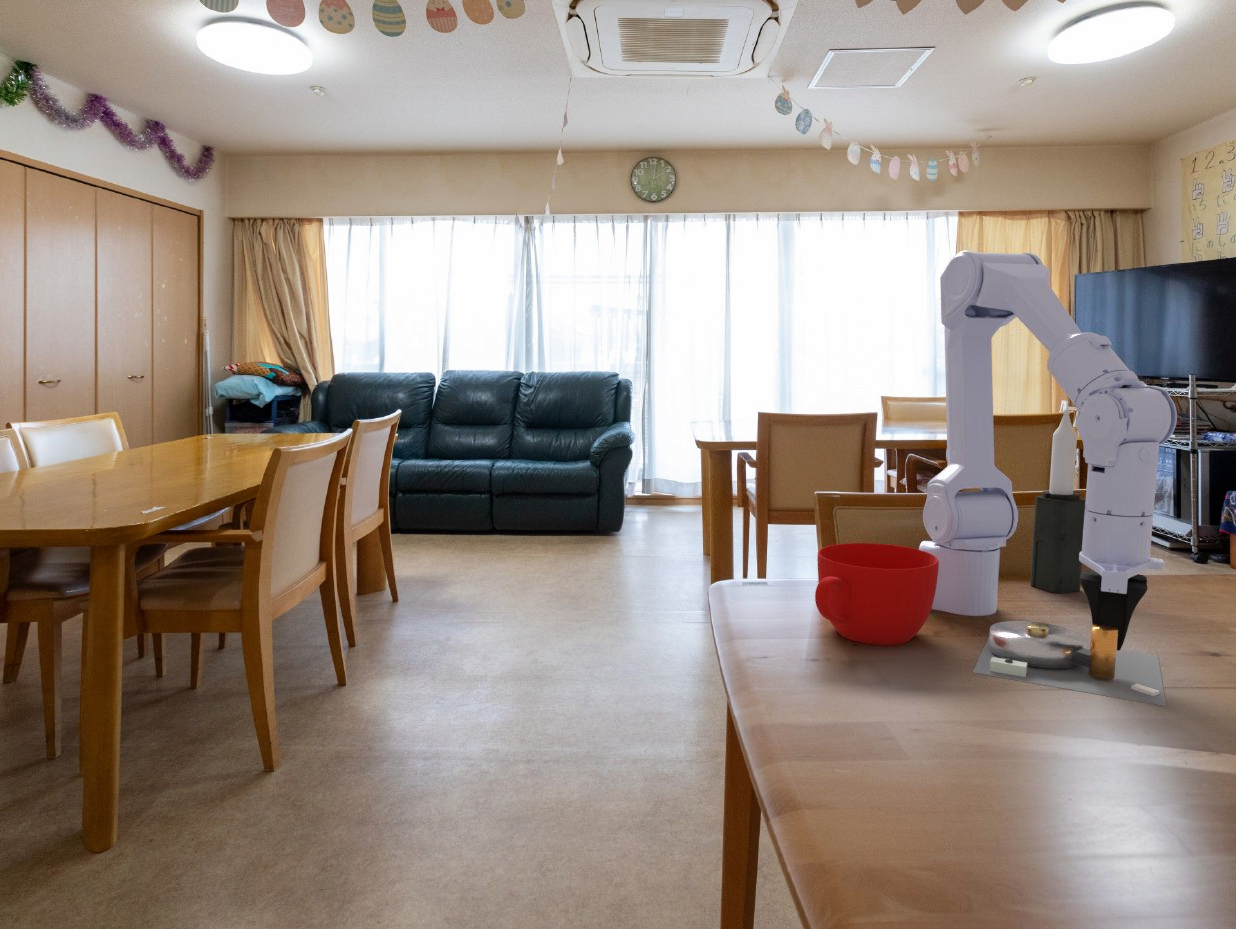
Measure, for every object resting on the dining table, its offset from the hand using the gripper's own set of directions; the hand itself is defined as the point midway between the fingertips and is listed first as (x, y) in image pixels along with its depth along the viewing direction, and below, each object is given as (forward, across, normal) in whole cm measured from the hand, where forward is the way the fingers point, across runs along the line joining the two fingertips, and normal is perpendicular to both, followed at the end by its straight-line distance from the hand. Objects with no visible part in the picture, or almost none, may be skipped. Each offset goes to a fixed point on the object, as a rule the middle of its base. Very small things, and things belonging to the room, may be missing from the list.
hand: (1108, 647), depth 83 cm
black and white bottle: (+4, +36, +6) cm, 37 cm away
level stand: (+3, 0, +3) cm, 5 cm away
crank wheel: (+2, 0, +5) cm, 5 cm away
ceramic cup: (+4, -2, +23) cm, 24 cm away
